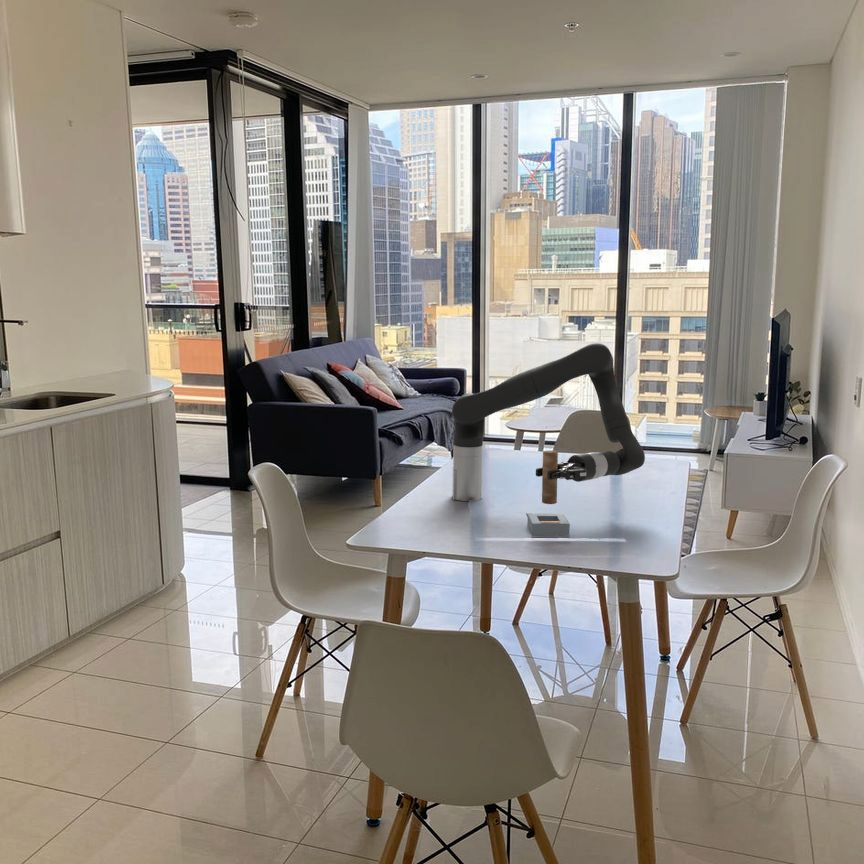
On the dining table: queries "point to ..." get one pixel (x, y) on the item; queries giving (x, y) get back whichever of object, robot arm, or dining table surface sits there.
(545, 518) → the socket block
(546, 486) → the walnut peg
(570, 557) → the dining table surface
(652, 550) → the dining table surface
